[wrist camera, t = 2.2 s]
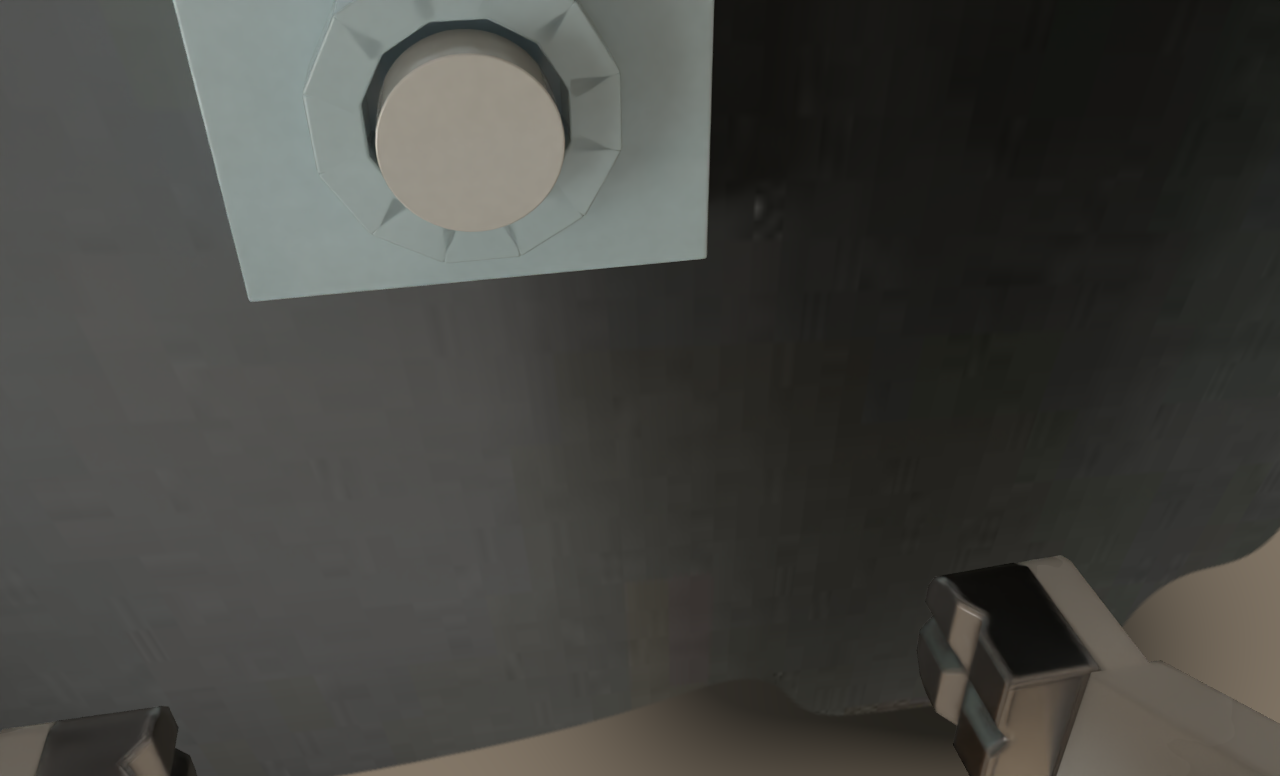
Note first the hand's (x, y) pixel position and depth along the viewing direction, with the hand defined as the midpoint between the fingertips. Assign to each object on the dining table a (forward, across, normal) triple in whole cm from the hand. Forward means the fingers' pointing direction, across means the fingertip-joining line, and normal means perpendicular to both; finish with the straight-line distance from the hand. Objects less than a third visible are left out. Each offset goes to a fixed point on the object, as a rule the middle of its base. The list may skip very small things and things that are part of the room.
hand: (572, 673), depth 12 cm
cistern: (+20, 0, 0) cm, 21 cm away
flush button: (+16, 0, 0) cm, 16 cm away
